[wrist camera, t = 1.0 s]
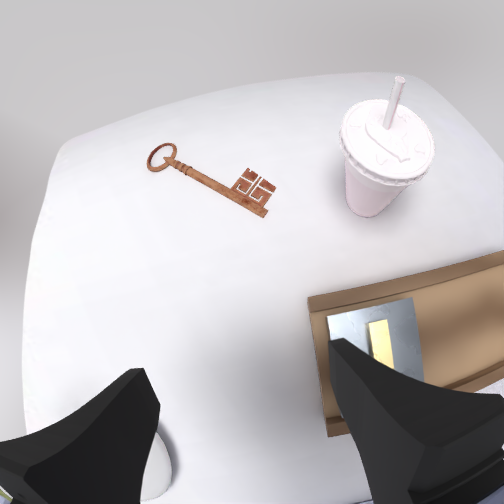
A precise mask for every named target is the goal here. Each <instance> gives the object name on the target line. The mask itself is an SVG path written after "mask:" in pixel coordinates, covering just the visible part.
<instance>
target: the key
mask: <svg viewBox="0 0 504 504" xmlns="http://www.w3.org/2000/svg"><path fill="white" fill-rule="evenodd" d="M167 145H170V146H172V147H173V153H172V155H171V157H164V158H163V159H164V160H165V161H166V162H165V163H164V164H162V165H161V166H158V167H151V166H150V162H151V159H152V157H153V155H154V154H155V152H156V151H157V150H159V149H160V148H162V147H164V146H167ZM176 152H177V148H176V146H175V145H174V144H172V143H165V144H162V145H160V146H158V147H157V148H155V149H154V150H153V151H152V152H151V154H150V155H149V157H148V160H147V168H148V169H149V170H150V171H160V170H162V169H164V168H166V167H167V166H168V165H171V166H173V167H174V168H175V169H178V170H179V171H181V172H183V173H184V174H185V175H188V176H190V177H192V178H194V179H195V180H197V181H199V182H201V183H203V184H204V185H206V186H208V187H210V188H211V189H213V190H215V191H217V192H218V193H220V194H222V195H224V196H225V197H227V198H229V199H231V200H232V201H234V202H236V203H238V204H239V205H241V206H243V207H245V208H246V209H248V210H250V211H251V212H253V213H255V214H257V215H258V216H260V217H262V218H264V216H265V215H266V213H267V212H268V210H267V209H265V208H263V206H264V205H265V203H266V202H267V201H268V199H269V198H270V196H271V195H272V194H270V193H268V192H267V191H265V190H263V189H261V188H259V187H257V188H256V189H255V190H254V192H253V193H252V194H251V196H253V197H254V198H256V199H259V198H260V197H261V196H263V197H262V199H261V200H260V201H259V202H258V201H256V200H254V199H252V198H250V197H249V196H248V195H249V194H250V193H251V191H252V190H253V189H254V187H255V186H256V184H257V183H258V182H259V180H260V179H261V178H262V177H261V176H260V177H259V179H258V180H257V181H256V182H255V184H254V185H253V186H252V188H251V189H250V190H249V191H248V193H247V194H246V195H245V194H244V193H242V192H240V191H238V190H237V189H236V188H237V186H238V185H239V184H241V185H240V186H239V187H238V189H240V190H242V191H244V192H245V193H246V191H247V190H248V189H249V187H250V186H251V184H252V183H250V182H248V181H246V180H244V179H242V178H241V177H240V178H239V179H238V180H237V182H236V183H235V184H234V185H233V187H232V188H231V189H229V188H228V187H226V186H224V185H222V184H220V183H219V182H217V181H215V180H213V179H211V178H209V177H208V176H206V175H204V174H202V173H200V172H198V171H196V170H195V169H193V168H192V167H191V166H186V164H184V163H181V162H180V161H176V160H174V158H175V156H176ZM249 170H250V169H249V168H247V169H246V171H245V172H244V173H243V174H242V176H243V177H245V178H247V179H248V180H250V181H252V182H254V180H255V179H256V178H257V176H258V174H256V173H255V172H253V171H251V172H249ZM259 185H260V186H262V187H264V188H265V189H267V190H269V191H271V192H274V191H275V189H276V187H275V186H273V185H272V184H271V183H269V182H268V181H266V180H265V179H263V180H262V181H261V183H260V184H259Z"/></svg>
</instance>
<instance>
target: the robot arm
mask: <svg viewBox="0 0 504 504" xmlns="http://www.w3.org/2000/svg"><path fill="white" fill-rule="evenodd" d="M328 350H329V365H330V382H331V385H332V389H333V392H334V395H335V398H336V402H337V404H338V406H339V409H340V411H341V413H342V415H343V417H344V420H345V422H346V424H347V426H348V428H349V430H350V433H351V435H352V437H353V439H354V441H355V443H356V446H357V448H358V451H359V453H360V457H361V460H362V463H363V466H364V470H365V473H366V477H367V480H368V484H369V487H370V491H371V495H372V499H373V500H372V501H368V502H363V503H359V504H504V460H503V459H504V450H503V449H502V448H501V447H502V446H503V444H504V398H503V397H502V396H501V395H500V394H483V393H469V392H463V391H456V390H451V389H446V388H442V387H438V386H435V385H431V384H428V383H425V382H422V381H419V380H416V379H414V378H411V377H409V376H406V375H404V374H402V373H400V372H398V371H396V370H394V369H392V368H390V367H388V366H386V365H385V364H383V363H381V362H379V361H378V360H376V359H374V358H373V357H371V356H370V355H368V354H367V353H365V352H364V351H362V350H361V349H359V348H358V347H357V346H355V345H354V344H352V343H351V342H349V341H348V340H347V339H345V338H344V337H343V338H339V339H334V340H330V341H328ZM159 413H160V403H159V401H158V399H157V397H156V394H155V392H154V390H153V388H152V386H151V384H150V381H149V379H148V377H147V375H146V372H145V370H144V368H134V369H129V370H128V371H126V372H125V373H124V374H122V375H121V376H120V377H119V378H117V379H116V380H115V381H114V382H113V383H111V384H110V385H109V386H108V387H106V388H105V389H104V390H103V391H102V392H100V393H99V394H98V395H97V396H95V397H94V398H93V399H91V400H90V401H89V402H87V403H86V404H85V405H83V406H82V407H81V408H79V409H78V410H77V411H75V412H74V413H72V414H70V415H69V416H67V417H65V418H64V419H62V420H60V421H59V422H57V423H55V424H52V425H50V426H48V427H46V428H44V429H42V430H40V431H37V432H35V433H32V434H29V435H26V436H23V437H20V438H16V439H12V440H8V441H3V442H0V486H1V487H2V488H3V489H4V490H6V492H8V493H9V494H10V495H11V496H12V497H13V499H12V501H11V502H10V501H9V500H7V499H6V498H4V497H3V496H1V495H0V504H140V499H141V489H142V482H143V475H144V471H145V467H146V463H147V460H148V457H149V453H150V450H151V447H152V443H153V440H154V437H155V433H156V430H157V426H158V420H159Z"/></svg>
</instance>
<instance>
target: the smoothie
mask: <svg viewBox="0 0 504 504" xmlns="http://www.w3.org/2000/svg"><path fill="white" fill-rule="evenodd" d="M404 84H405V79H404V78H403V77H400V76H396V77H395V81H394V85H393V88H392V92H391V96H390V100H389V101H388V100H381V99H372V100H366V101H362V102H359V103H357V104H355V105H354V106H352V107H351V108H350V109H349V110H348V111H347V112H346V114H345V115H344V117H343V120H342V124H341V129H340V132H339V138H340V145H341V148H342V151H343V154H344V155H345V179H346V201H347V204H348V206H349V208H350V209H351V210H352V211H353V212H354V213H356V214H357V215H359V216H362V217H373V216H376V215H377V214H379V213H380V212H381V211H382V210H383V209H384V208H385V207H386V206H387V205H388V204H389V203H391V202H392V201H393V200H394V199H395V198H396V197H397V196H398V195H399V194H400V193H401V192H402V191H403V190H404V189H405V188H406V187H407V186H408V185H411V184H413V183H415V182H417V181H419V180H421V179H422V178H423V177H424V176H425V175H426V174H427V172H428V170H429V168H430V165H431V164H432V162H433V159H434V155H435V144H434V140H433V137H432V134H431V132H430V130H429V129H428V127H427V125H426V124H425V123H424V122H423V120H422V119H421V118H420V117H419V116H418V115H416V114H415V113H414V112H413V111H411V110H410V109H408V108H406V107H404V106H402V105H401V104H398V103H399V100H400V97H401V94H402V91H403V87H404Z"/></svg>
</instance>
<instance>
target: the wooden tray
mask: <svg viewBox="0 0 504 504" xmlns="http://www.w3.org/2000/svg"><path fill="white" fill-rule="evenodd" d="M410 297H413V302H414V308H415V313H416V319H417V325H418V332H419V338H420V346H421V353H422V362H423V372H424V382H425V383H428V384H431V385H435V386H438V387H442V388H446V389H451V390H456V391H463V392H469V393H474V392H476V391H478V390H480V389H483V388H485V387H487V386H489V385H491V384H493V383H495V382H497V381H499V380H500V379H502V378H504V250H502V251H499V252H496V253H492V254H489V255H486V256H482V257H479V258H475V259H472V260H468V261H464V262H461V263H457V264H453V265H450V266H446V267H442V268H438V269H434V270H430V271H426V272H422V273H418V274H414V275H410V276H406V277H402V278H397V279H393V280H389V281H384V282H380V283H375V284H371V285H366V286H361V287H357V288H352V289H347V290H342V291H337V292H332V293H327V294H322V295H317V296H312V297H308V302H307V303H308V309H309V315H310V321H311V327H312V333H313V340H314V346H315V353H316V359H317V366H318V373H319V380H320V387H321V395H322V402H323V410H324V418H325V424H326V429H327V434H328V437H333V436H339V435H344V434H348V433H350V430H349V428H348V426H347V424H346V422H345V420H344V418H341V415H340V413H339V410H338V404H337V402H336V398H335V395H334V392H333V389H332V385H331V382H330V365H329V350H328V341H329V338H328V331H327V325H326V319H325V317H327V316H331V315H336V314H341V313H346V312H350V311H355V310H360V309H364V308H369V307H373V306H377V305H382V304H386V303H390V302H394V301H398V300H402V299H406V298H410Z"/></svg>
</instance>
